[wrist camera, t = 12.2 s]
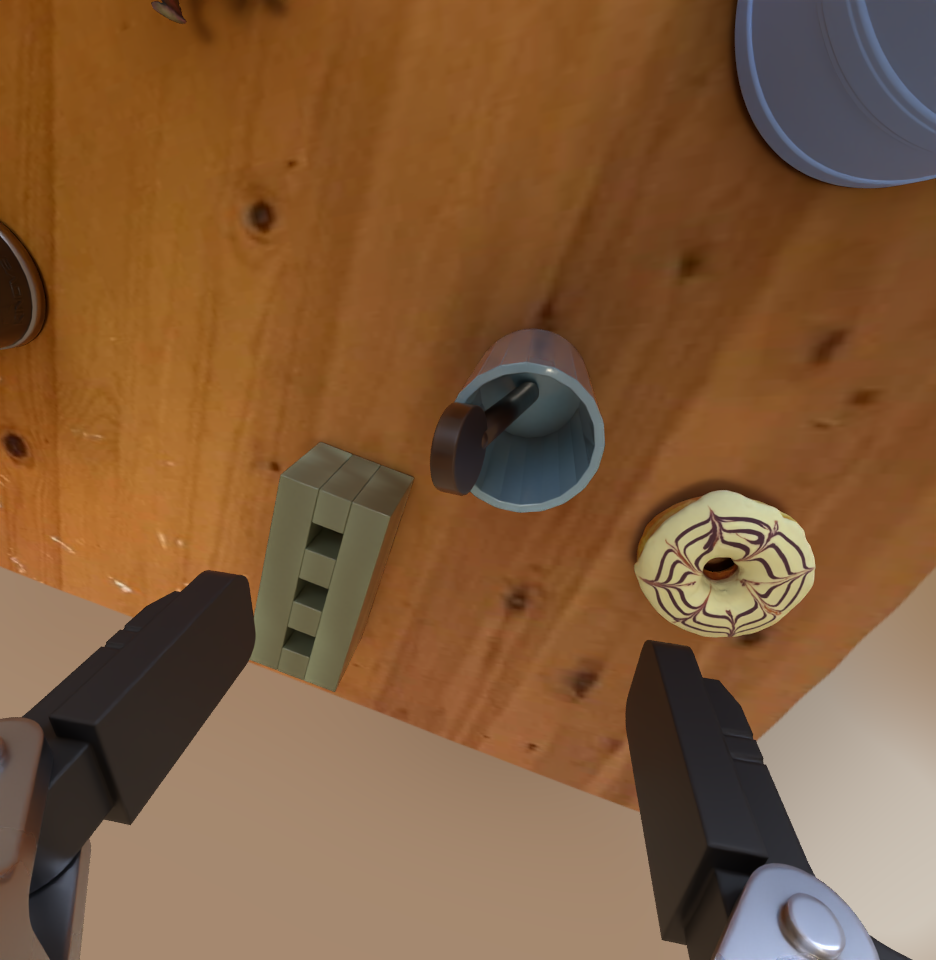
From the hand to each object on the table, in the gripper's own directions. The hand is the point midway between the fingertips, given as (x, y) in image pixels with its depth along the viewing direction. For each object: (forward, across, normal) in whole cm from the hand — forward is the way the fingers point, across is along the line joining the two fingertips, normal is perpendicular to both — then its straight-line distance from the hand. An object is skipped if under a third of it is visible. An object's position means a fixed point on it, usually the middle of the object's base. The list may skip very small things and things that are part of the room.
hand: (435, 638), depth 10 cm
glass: (+24, -1, +1) cm, 25 cm away
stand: (+25, +12, +16) cm, 32 cm away
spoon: (+24, -2, +1) cm, 24 cm away
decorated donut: (+25, -16, +11) cm, 31 cm away
